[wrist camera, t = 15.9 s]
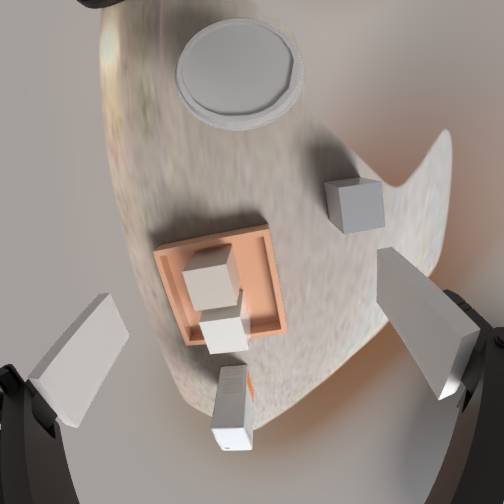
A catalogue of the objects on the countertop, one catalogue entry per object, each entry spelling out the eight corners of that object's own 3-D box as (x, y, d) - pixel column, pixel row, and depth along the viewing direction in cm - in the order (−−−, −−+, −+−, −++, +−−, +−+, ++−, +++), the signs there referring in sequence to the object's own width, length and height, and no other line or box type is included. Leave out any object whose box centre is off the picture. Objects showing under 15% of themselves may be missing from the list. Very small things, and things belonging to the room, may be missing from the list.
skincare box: (254, 389, 40) (253, 450, 29) (228, 391, 40) (221, 451, 29) (248, 363, 38) (244, 427, 27) (219, 365, 38) (208, 428, 27)
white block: (207, 296, 34) (198, 322, 28) (243, 290, 33) (240, 316, 28) (217, 325, 35) (210, 354, 30) (250, 320, 35) (249, 349, 29)
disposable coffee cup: (251, 158, 29) (246, 156, 18) (186, 108, 27) (144, 82, 16) (306, 97, 26) (333, 62, 15) (240, 49, 25) (230, -4, 13)
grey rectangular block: (323, 182, 30) (338, 187, 24) (360, 177, 29) (381, 181, 24) (329, 220, 31) (344, 234, 25) (364, 214, 31) (385, 226, 25)
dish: (159, 245, 32) (152, 251, 30) (268, 223, 31) (269, 228, 29) (190, 335, 37) (186, 345, 34) (286, 321, 35) (287, 332, 33)
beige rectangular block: (195, 252, 32) (182, 271, 26) (232, 244, 32) (226, 264, 26) (205, 286, 33) (194, 311, 28) (240, 280, 33) (236, 305, 27)
